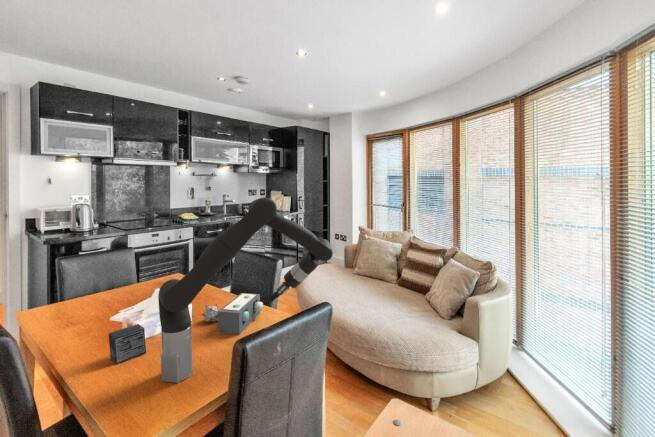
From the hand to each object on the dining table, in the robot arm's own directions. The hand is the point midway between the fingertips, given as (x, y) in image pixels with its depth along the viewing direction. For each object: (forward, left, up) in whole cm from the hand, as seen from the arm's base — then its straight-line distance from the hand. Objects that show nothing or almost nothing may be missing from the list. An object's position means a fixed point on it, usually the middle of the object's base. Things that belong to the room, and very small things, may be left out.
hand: (270, 300), depth 142 cm
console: (+6, +17, -14) cm, 23 cm away
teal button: (0, +13, -11) cm, 17 cm away
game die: (+4, +31, -15) cm, 35 cm away
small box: (-30, +46, -15) cm, 57 cm away
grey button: (+12, +11, -11) cm, 19 cm away
